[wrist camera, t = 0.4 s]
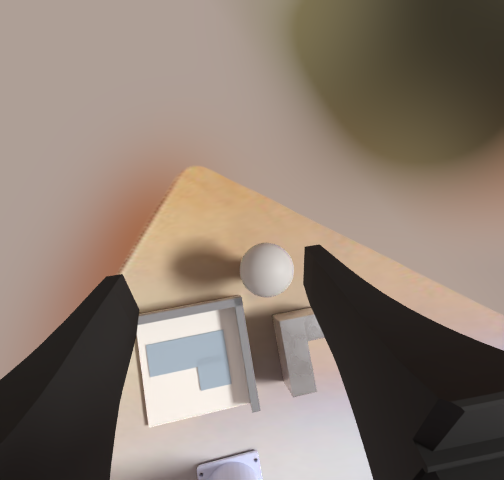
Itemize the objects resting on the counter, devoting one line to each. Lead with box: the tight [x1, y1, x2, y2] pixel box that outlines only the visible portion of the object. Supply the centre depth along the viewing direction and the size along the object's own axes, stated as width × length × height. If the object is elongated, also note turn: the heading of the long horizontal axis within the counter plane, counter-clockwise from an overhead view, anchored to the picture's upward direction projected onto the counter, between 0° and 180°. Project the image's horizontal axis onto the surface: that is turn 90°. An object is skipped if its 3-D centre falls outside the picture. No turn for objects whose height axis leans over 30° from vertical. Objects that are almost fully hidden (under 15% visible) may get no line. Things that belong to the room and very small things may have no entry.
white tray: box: [137, 295, 260, 427], centre depth 36 cm, size 14×14×3 cm
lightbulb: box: [240, 243, 294, 297], centre depth 34 cm, size 6×6×11 cm
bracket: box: [272, 307, 325, 397], centre depth 36 cm, size 9×6×5 cm, turn 10°
